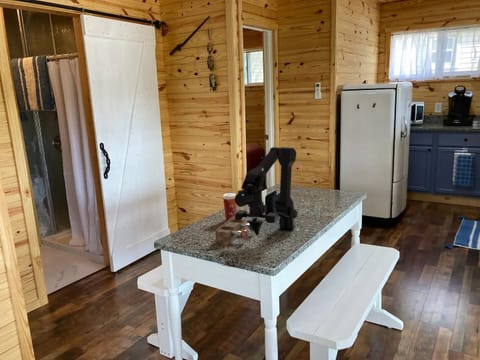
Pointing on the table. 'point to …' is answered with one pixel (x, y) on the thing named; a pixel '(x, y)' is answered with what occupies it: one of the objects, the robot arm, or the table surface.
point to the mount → (228, 231)
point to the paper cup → (229, 205)
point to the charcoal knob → (246, 226)
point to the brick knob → (240, 233)
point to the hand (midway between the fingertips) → (257, 234)
